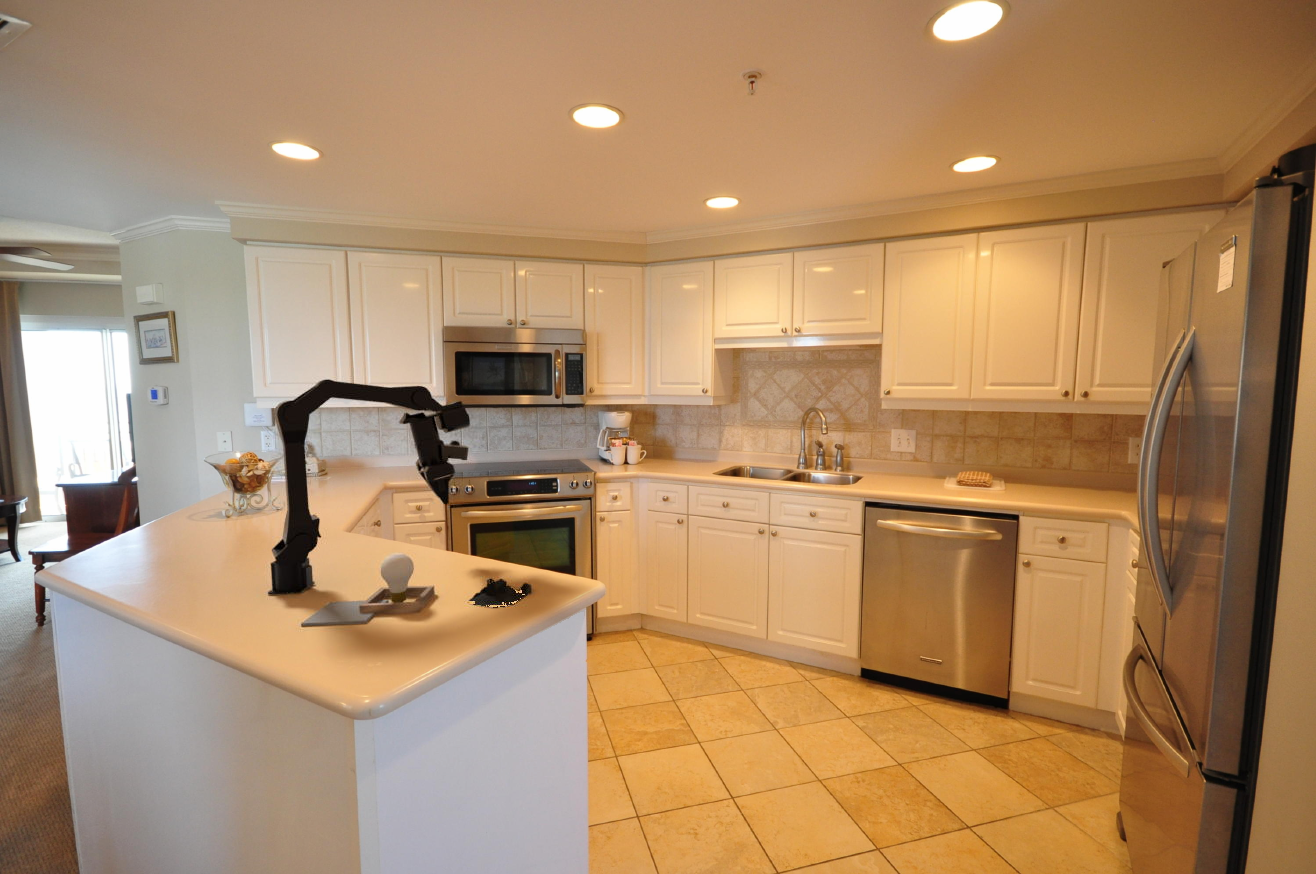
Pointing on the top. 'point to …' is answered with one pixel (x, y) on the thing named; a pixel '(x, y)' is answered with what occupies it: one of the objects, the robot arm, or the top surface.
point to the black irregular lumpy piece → (499, 593)
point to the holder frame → (398, 607)
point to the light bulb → (397, 575)
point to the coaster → (340, 614)
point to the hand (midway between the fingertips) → (443, 500)
